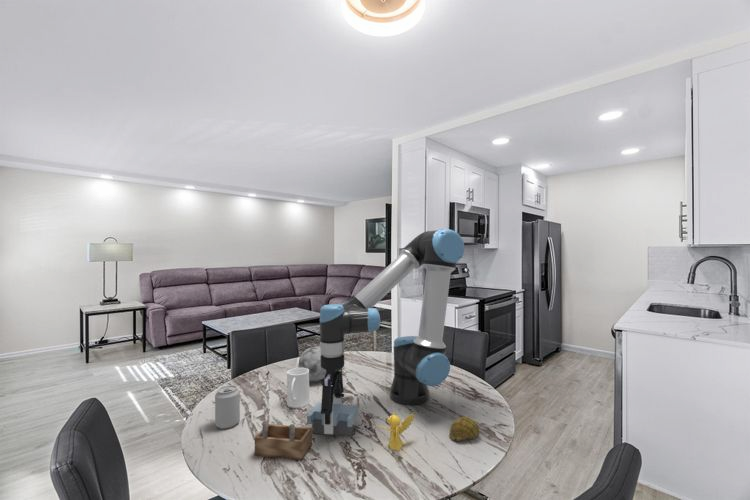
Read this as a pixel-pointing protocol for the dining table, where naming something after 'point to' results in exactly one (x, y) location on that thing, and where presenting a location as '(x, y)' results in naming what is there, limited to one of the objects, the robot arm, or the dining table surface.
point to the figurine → (397, 430)
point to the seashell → (464, 429)
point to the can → (227, 407)
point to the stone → (312, 363)
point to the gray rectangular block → (337, 430)
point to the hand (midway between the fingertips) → (333, 425)
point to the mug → (298, 387)
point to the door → (335, 414)
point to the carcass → (283, 441)
